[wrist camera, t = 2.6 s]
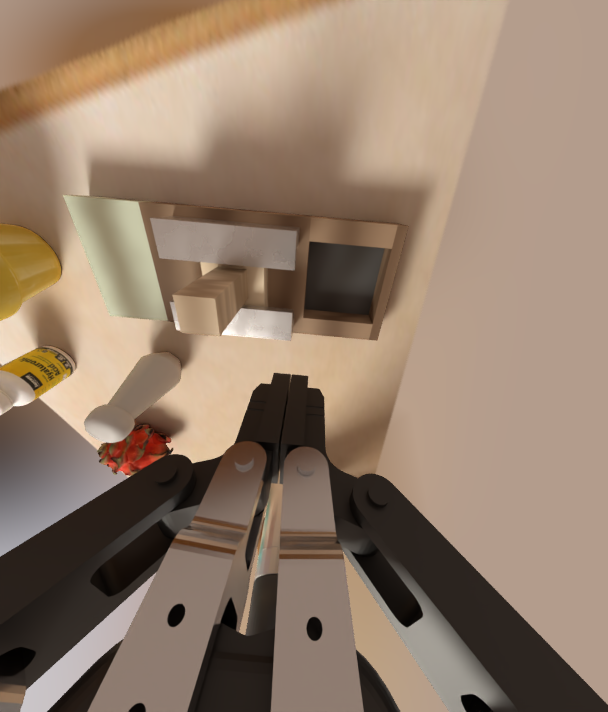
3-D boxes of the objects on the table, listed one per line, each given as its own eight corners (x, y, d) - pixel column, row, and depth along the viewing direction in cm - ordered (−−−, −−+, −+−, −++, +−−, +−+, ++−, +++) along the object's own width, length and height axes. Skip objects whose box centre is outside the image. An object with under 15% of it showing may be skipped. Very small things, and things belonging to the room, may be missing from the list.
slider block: (267, 248, 24) (237, 275, 15) (268, 306, 27) (243, 357, 18) (207, 243, 24) (140, 267, 15) (215, 301, 27) (164, 349, 18)
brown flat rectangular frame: (399, 223, 24) (408, 226, 22) (372, 329, 31) (377, 340, 28) (89, 195, 25) (62, 194, 22) (126, 306, 31) (109, 315, 29)
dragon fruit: (118, 418, 45) (185, 418, 47) (114, 464, 45) (182, 463, 47) (83, 430, 37) (166, 429, 39) (78, 486, 37) (163, 484, 38)
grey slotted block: (299, 227, 22) (296, 231, 19) (293, 325, 28) (290, 340, 25) (172, 216, 23) (149, 217, 19) (191, 316, 28) (176, 330, 25)
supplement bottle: (83, 363, 37) (15, 410, 28) (67, 379, 39) (-2, 427, 30) (47, 337, 34) (-38, 380, 26) (32, 355, 36) (-53, 400, 28)
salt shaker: (158, 338, 33) (80, 404, 23) (194, 363, 35) (139, 434, 24) (141, 362, 36) (64, 432, 25) (176, 384, 38) (118, 457, 27)
